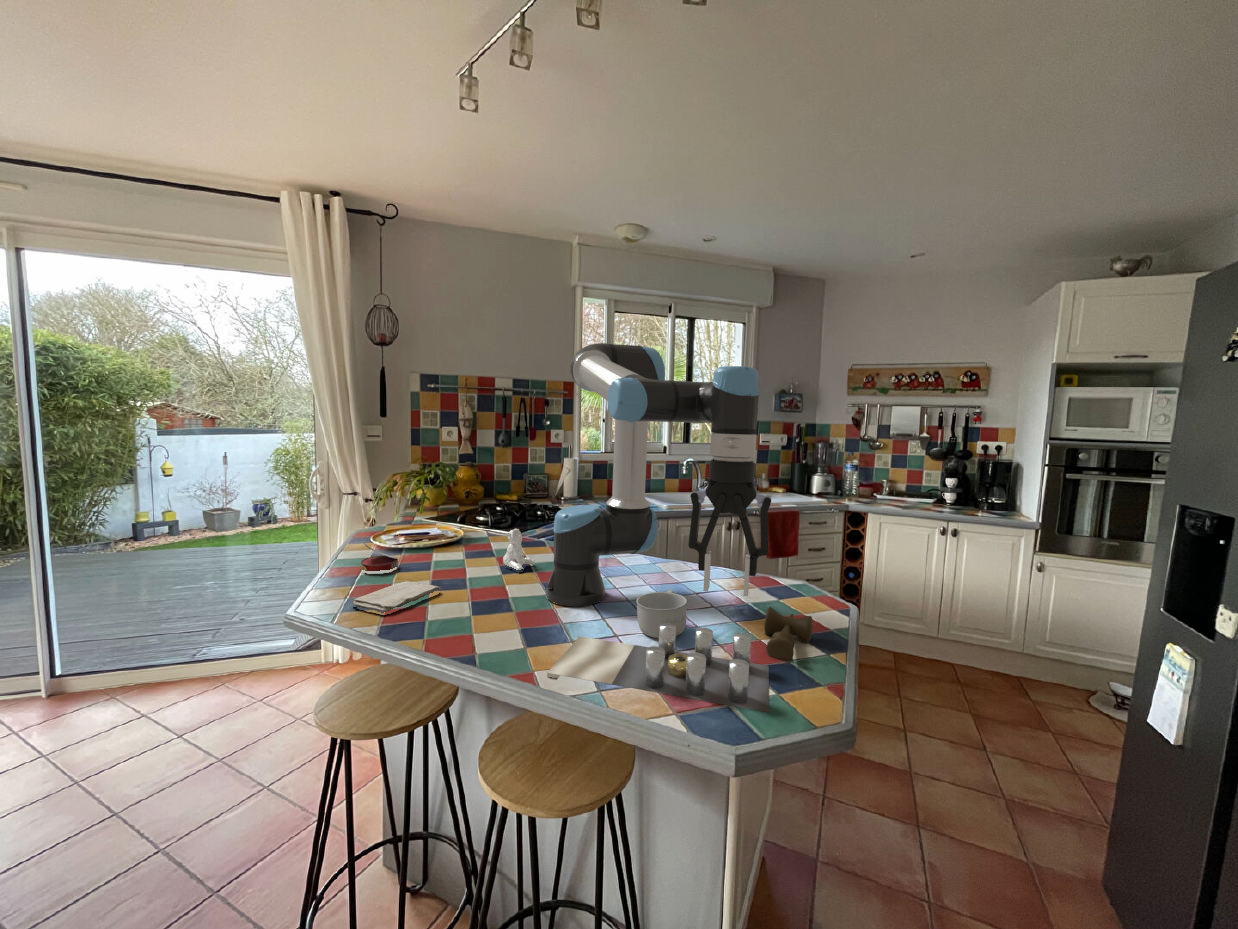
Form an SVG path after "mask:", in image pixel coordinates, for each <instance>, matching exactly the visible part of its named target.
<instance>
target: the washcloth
mask: <svg viewBox="0 0 1238 929" xmlns="http://www.w3.org/2000/svg"><path fill="white" fill-rule="evenodd" d="M438 589H441V590H442V588H441V587H440V586H437V585H433V584H421V583H418V582H412V581H406V580H405V581H402V582H399V583H396V584H394V585H389V586H386V587H383V588H382V589H378V590H375V591H373V592H370V593H368V594H364V595H362V596H359V597H356V598H354V599H353V600H352V603H353V605H355V607H360V608H367V609H371V610H375V611H377V612H381V613H384V612H387V611H390V610H391V609H393V608H395V607H401V606H403V605H405V604H407V603H409V602H411V601H416V600H418V599H419V598H421V597H424V596H425V595H429V594H430V593H433V592H434V591H437V590H438Z"/></svg>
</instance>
